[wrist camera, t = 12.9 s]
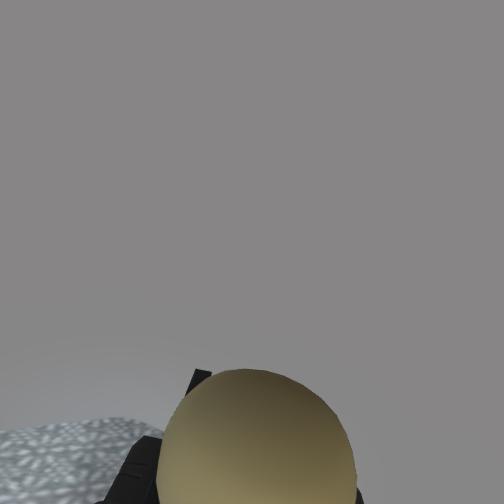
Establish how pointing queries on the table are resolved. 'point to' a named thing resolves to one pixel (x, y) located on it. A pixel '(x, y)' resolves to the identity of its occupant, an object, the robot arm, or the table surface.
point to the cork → (255, 445)
